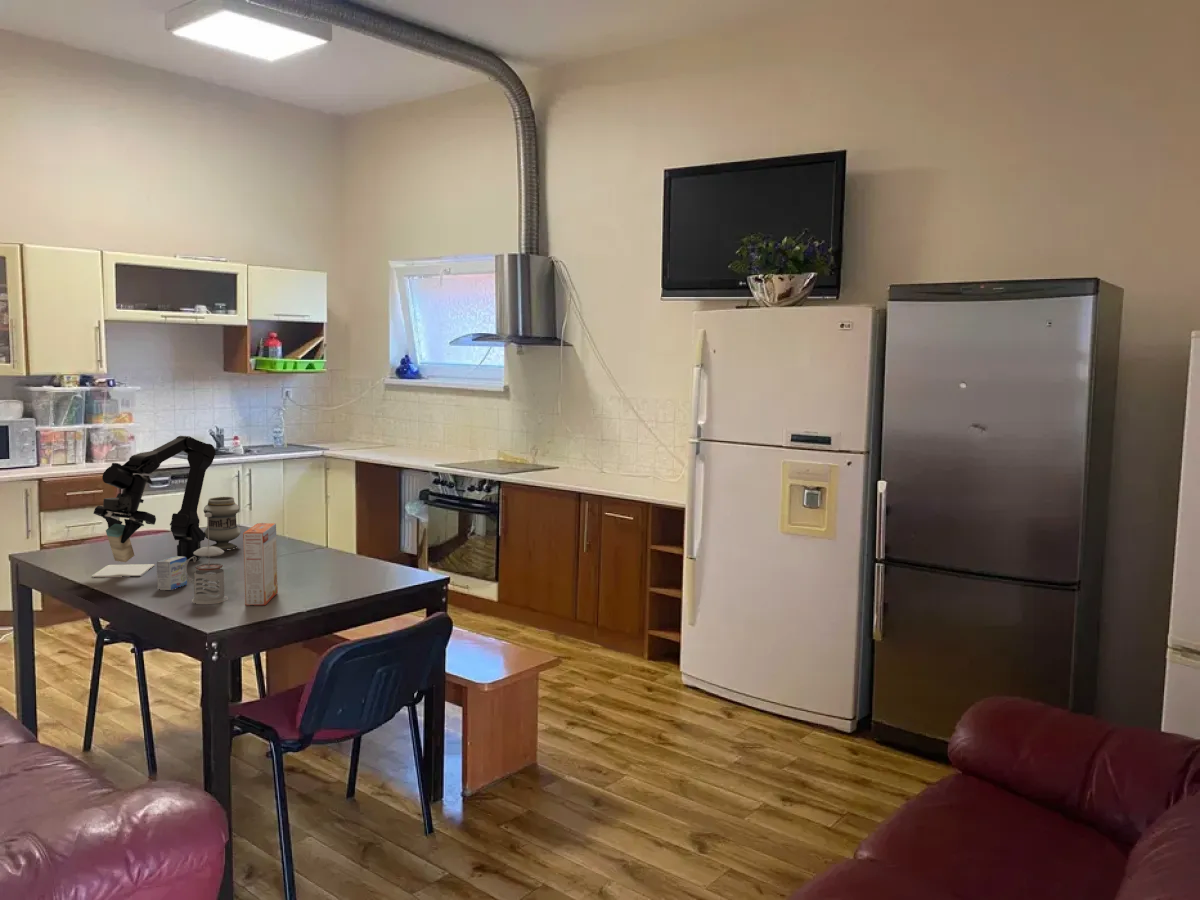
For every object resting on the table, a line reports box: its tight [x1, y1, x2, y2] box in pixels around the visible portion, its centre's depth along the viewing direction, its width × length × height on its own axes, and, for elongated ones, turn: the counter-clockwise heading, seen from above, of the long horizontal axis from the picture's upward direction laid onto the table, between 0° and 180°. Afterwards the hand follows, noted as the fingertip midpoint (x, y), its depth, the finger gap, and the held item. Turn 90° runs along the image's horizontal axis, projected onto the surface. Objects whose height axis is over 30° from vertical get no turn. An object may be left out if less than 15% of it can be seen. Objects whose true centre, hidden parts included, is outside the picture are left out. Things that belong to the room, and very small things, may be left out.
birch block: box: [105, 524, 136, 563], centre depth 290 cm, size 4×4×11 cm
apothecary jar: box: [203, 496, 242, 550], centre depth 333 cm, size 12×12×18 cm
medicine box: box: [156, 555, 188, 591], centre depth 278 cm, size 8×4×9 cm, turn 168°
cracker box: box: [242, 522, 279, 607], centre depth 266 cm, size 14×6×21 cm, turn 5°
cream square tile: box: [91, 563, 156, 579], centre depth 296 cm, size 14×15×1 cm
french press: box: [184, 512, 229, 605], centre depth 264 cm, size 10×12×25 cm
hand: (116, 542), depth 288 cm, fingers closed on birch block, 4 cm apart
